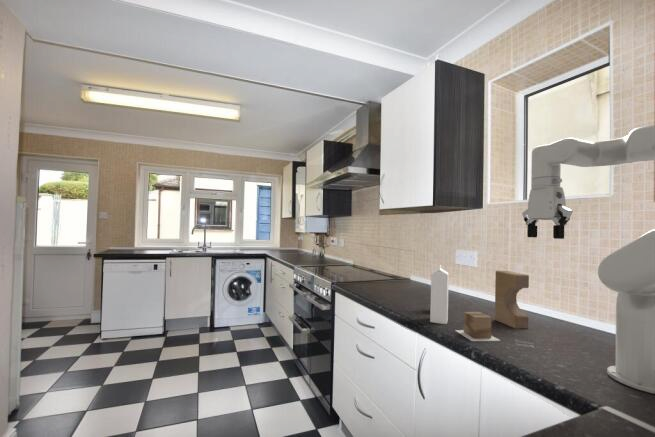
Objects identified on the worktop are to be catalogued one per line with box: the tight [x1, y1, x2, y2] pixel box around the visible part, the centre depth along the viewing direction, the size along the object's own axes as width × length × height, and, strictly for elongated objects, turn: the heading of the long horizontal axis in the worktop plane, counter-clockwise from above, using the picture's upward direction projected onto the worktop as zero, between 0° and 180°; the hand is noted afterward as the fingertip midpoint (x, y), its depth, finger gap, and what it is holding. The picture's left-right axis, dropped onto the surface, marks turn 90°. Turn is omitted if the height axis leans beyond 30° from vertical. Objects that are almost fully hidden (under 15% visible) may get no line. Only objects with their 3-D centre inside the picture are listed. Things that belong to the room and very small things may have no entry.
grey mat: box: [454, 329, 501, 342], centre depth 101 cm, size 10×10×1 cm
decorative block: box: [494, 270, 530, 330], centre depth 116 cm, size 11×6×20 cm, turn 10°
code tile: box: [514, 339, 535, 349], centre depth 95 cm, size 10×10×1 cm
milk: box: [429, 264, 450, 325], centre depth 117 cm, size 6×6×22 cm
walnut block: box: [463, 311, 492, 339], centre depth 101 cm, size 6×6×7 cm
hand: (544, 237), depth 95 cm, fingers open, 9 cm apart
